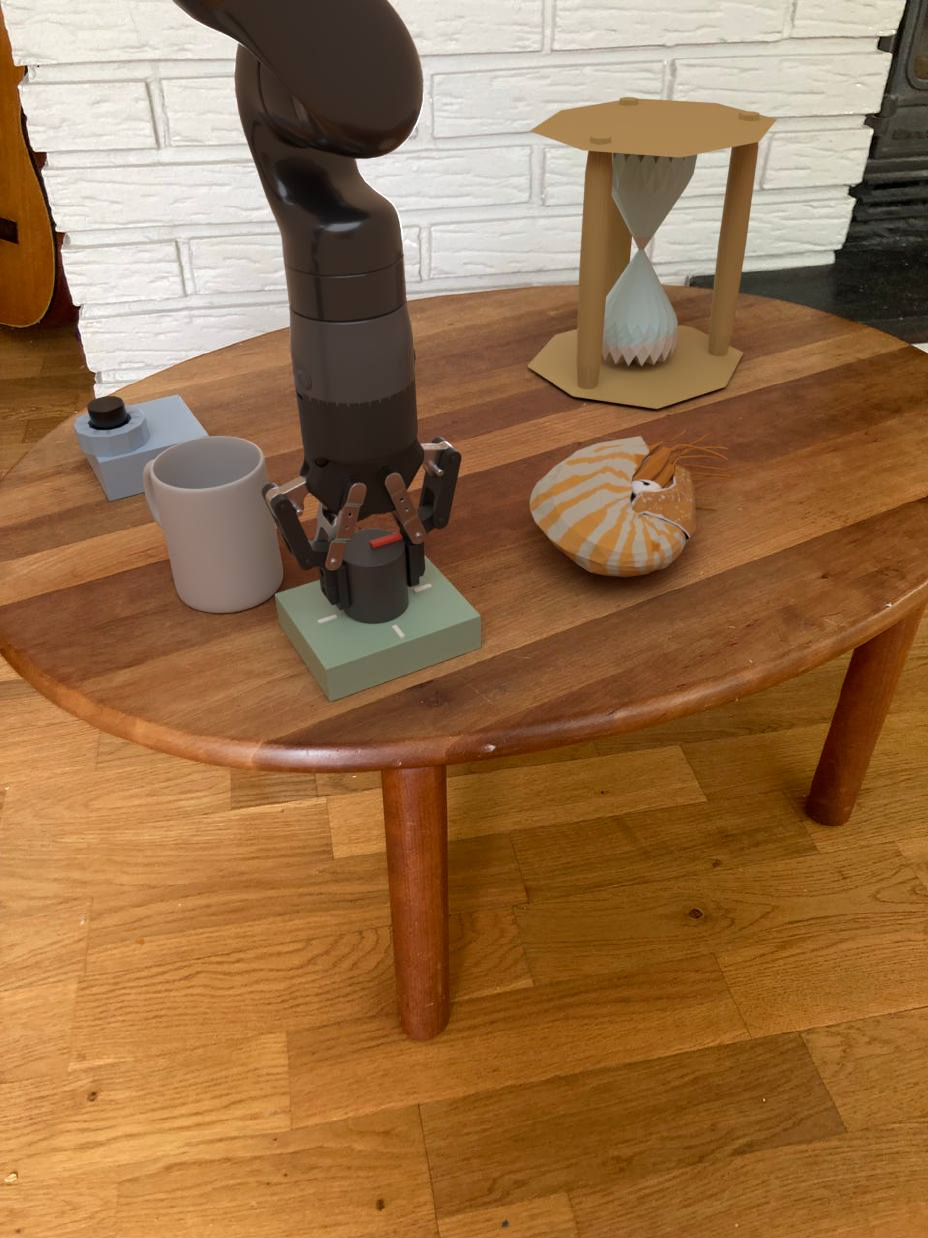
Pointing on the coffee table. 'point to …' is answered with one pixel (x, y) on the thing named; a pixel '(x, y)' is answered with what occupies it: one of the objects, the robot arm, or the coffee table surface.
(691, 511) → the nautilus
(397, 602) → the dial
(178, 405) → the button box
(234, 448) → the mug
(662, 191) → the hourglass
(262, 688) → the coffee table surface
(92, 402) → the button
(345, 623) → the panel
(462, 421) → the coffee table surface
